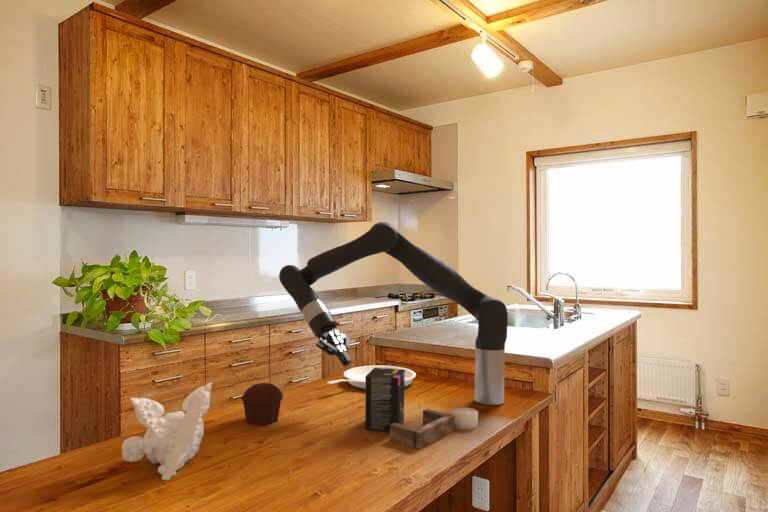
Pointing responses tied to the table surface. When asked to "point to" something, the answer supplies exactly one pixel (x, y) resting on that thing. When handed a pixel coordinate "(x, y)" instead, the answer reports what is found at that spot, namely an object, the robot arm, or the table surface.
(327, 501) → the table surface
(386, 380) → the tampon box
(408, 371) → the pan
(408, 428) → the frame
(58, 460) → the table surface
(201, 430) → the white animal figurine
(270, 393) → the muffin
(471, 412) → the rounded cream block
